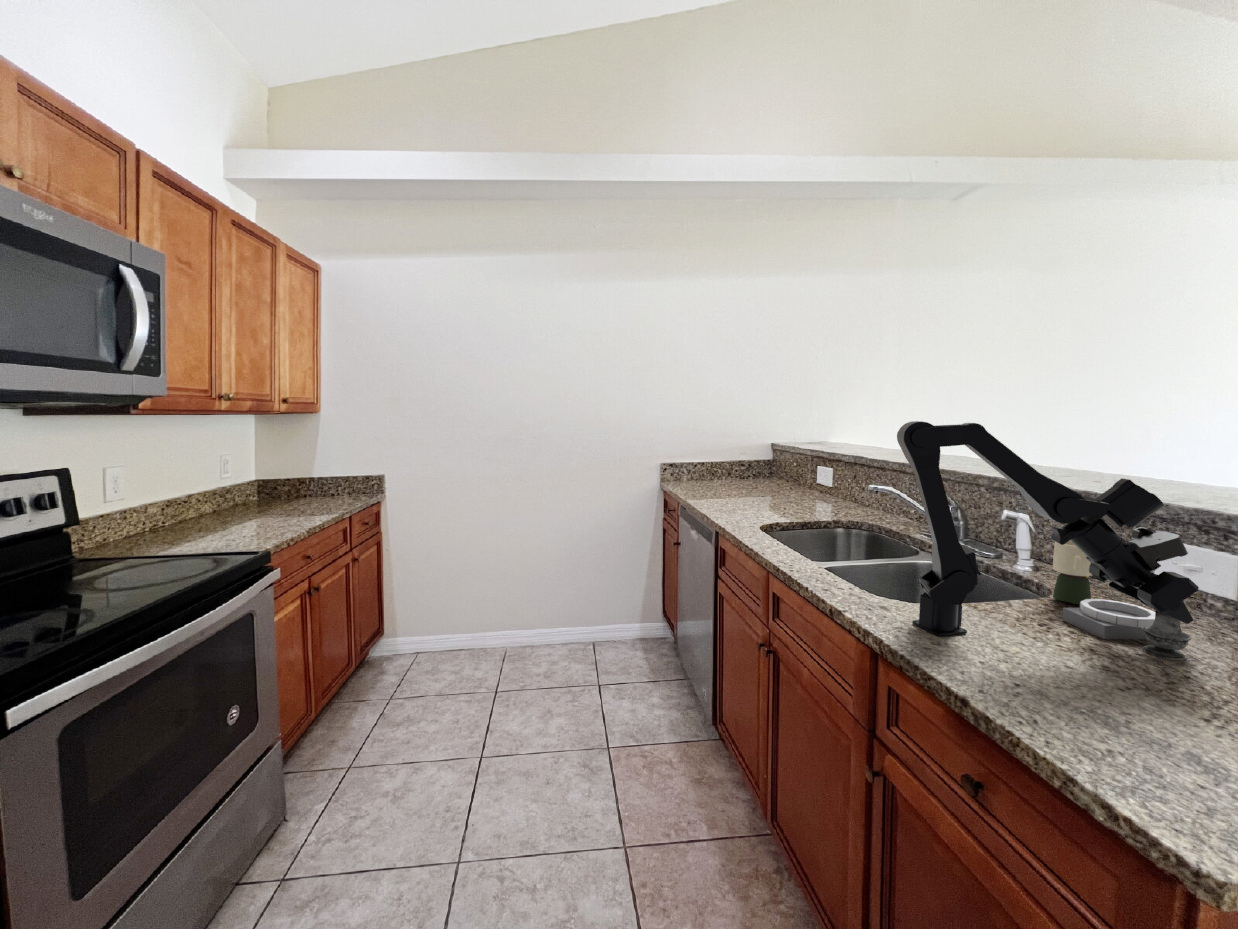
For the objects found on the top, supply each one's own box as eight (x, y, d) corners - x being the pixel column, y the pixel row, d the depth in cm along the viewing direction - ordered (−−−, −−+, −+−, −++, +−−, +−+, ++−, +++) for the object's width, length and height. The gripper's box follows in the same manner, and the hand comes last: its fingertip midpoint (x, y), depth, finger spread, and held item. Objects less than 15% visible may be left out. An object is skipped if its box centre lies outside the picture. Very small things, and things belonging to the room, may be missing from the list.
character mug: (1097, 614, 108) (1102, 551, 107) (1052, 606, 112) (1056, 546, 111) (1090, 599, 117) (1094, 540, 116) (1048, 592, 121) (1052, 536, 120)
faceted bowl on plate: (1107, 641, 95) (1109, 619, 95) (1059, 618, 105) (1060, 598, 105) (1180, 641, 95) (1182, 619, 95) (1124, 618, 105) (1126, 599, 105)
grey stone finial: (1130, 646, 93) (1136, 578, 92) (1161, 645, 93) (1167, 578, 92) (1167, 661, 87) (1174, 589, 86) (1200, 660, 88) (1207, 589, 87)
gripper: (1188, 526, 80) (1276, 605, 78) (1114, 506, 98) (1184, 570, 96) (1119, 572, 83) (1202, 650, 81) (1060, 545, 101) (1126, 608, 99)
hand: (1178, 616), depth 89 cm, fingers open, 5 cm apart
